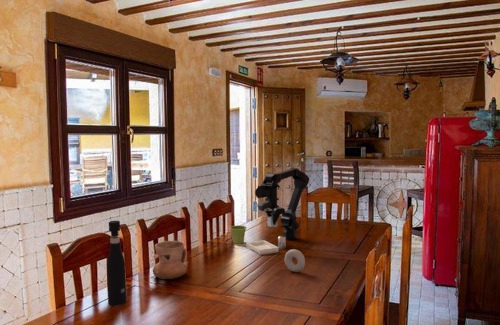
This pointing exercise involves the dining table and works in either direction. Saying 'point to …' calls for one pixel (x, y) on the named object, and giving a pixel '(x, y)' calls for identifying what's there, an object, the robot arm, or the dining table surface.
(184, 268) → the ceramic jug
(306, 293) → the dining table surface
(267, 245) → the parts tray
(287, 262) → the donut
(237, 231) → the plant pot
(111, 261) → the black water bottle
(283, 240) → the metal cylinder
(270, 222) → the painted block
